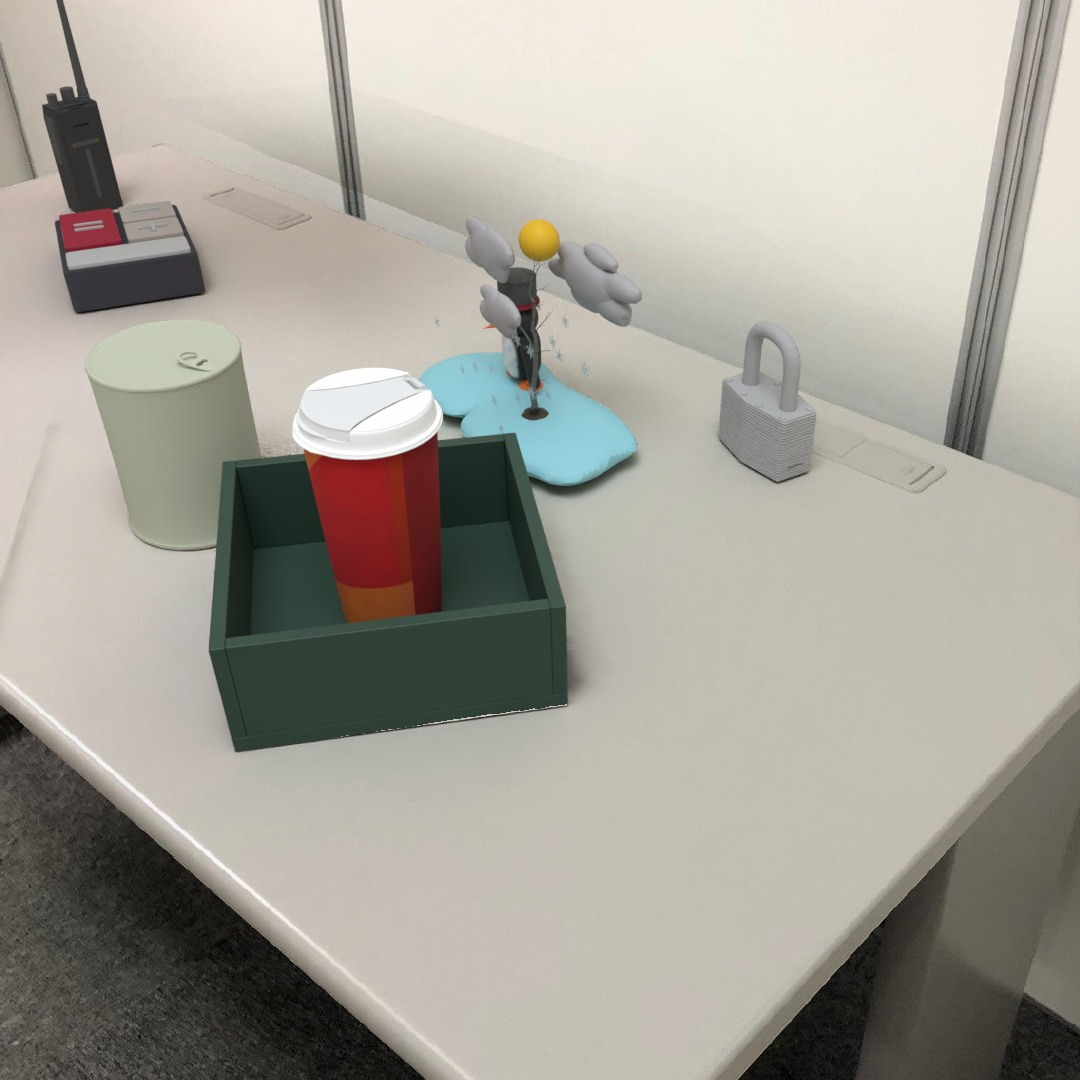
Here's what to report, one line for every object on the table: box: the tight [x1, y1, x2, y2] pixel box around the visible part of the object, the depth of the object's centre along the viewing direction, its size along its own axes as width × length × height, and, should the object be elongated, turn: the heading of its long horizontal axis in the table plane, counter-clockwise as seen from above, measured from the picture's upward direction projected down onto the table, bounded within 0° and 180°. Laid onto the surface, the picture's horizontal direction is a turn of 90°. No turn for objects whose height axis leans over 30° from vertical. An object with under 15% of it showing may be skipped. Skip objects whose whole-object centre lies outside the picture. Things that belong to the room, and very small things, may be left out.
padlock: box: [717, 320, 818, 483], centre depth 83 cm, size 7×4×10 cm, turn 31°
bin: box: [207, 433, 569, 753], centre depth 69 cm, size 18×18×7 cm
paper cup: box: [292, 367, 444, 623], centre depth 66 cm, size 8×8×14 cm
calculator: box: [54, 200, 206, 313], centre depth 109 cm, size 11×4×15 cm
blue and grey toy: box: [418, 216, 643, 487], centre depth 84 cm, size 20×11×15 cm, turn 32°
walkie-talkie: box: [41, 0, 123, 213], centre depth 117 cm, size 5×3×20 cm
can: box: [83, 319, 263, 551], centre depth 77 cm, size 9×9×12 cm
